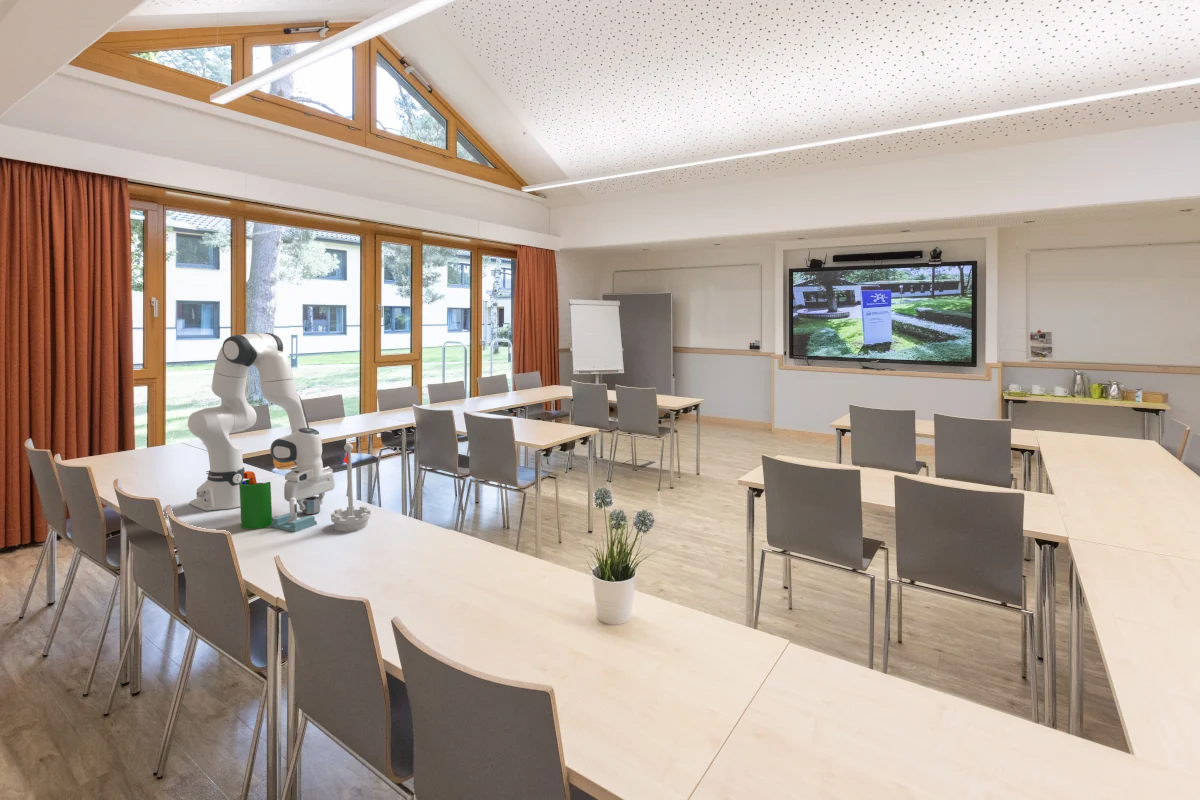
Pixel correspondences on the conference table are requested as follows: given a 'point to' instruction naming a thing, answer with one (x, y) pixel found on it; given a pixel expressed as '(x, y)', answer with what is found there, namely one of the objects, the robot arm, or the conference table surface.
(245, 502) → the green cup
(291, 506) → the shaft block
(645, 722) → the conference table surface
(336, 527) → the flag stand
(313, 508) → the hub
